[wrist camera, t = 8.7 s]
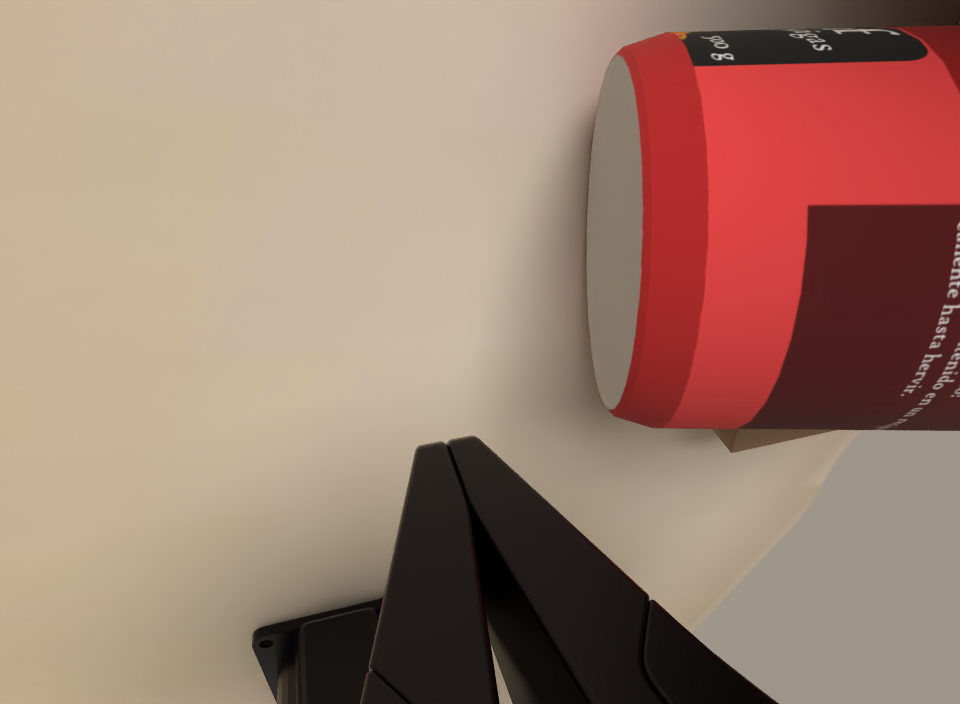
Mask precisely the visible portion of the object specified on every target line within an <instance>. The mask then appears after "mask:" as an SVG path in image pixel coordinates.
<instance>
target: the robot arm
mask: <svg viewBox="0 0 960 704" xmlns="http://www.w3.org/2000/svg"><path fill="white" fill-rule="evenodd" d="M490 642H491V644H490ZM491 645H492V648H493V650H494V653H495V656H496V659H497V661H498V664H499V667H500V670H501V672H502V675H503V678H504V681H505V683H506V686H507V689H508V692H509V694H510V697H511V700H512V703H513V704H779V703H777V702H776V701H775V700H773V699H772V698H771V697H769V696H768V695H767V694H765V693H764V692H763V691H762V690H760V689H759V688H758V687H756V686H755V685H754V684H752V683H751V682H750V681H749V680H747V679H746V678H745V677H743V676H742V675H741V674H740V673H738V672H737V671H736V670H735V669H733V668H732V667H731V666H729V665H728V664H727V663H726V662H724V661H723V660H722V659H721V658H719V657H718V656H717V655H716V654H714V653H713V652H712V651H711V650H710V649H708V648H707V647H706V646H705V645H704V644H703V643H701V642H700V641H699V640H698V639H697V638H696V637H695V636H694V635H692V634H691V633H690V632H689V631H688V630H687V629H686V628H684V627H683V626H682V625H681V624H680V623H679V622H678V621H676V620H675V619H674V618H673V617H672V616H671V615H670V614H669V613H668V612H667V611H666V610H665V609H664V608H662V607H661V606H660V605H659V604H658V603H657V602H656V601H655V600H650V601H649V595H648V594H647V593H646V592H645V591H644V590H643V589H642V588H640V587H639V586H638V585H637V584H636V583H635V582H634V581H633V580H632V579H631V578H630V577H629V576H627V575H626V574H625V573H624V572H623V571H622V570H621V569H620V568H619V567H618V566H617V565H616V564H614V563H613V562H612V561H611V560H610V559H609V558H608V557H607V556H606V555H605V554H604V553H603V552H601V551H600V550H599V549H598V548H597V547H596V546H595V545H594V544H593V543H592V542H591V541H589V540H588V539H587V538H586V537H585V536H584V535H583V534H582V533H581V532H580V531H579V530H578V529H576V528H575V527H574V526H573V525H572V524H571V523H570V522H569V521H568V520H567V519H566V518H565V517H563V516H562V515H561V514H560V513H559V512H558V511H557V510H556V509H555V508H554V507H553V506H551V505H550V504H549V503H548V502H547V501H546V500H545V499H544V498H543V497H542V496H541V495H540V494H538V493H537V492H536V491H535V490H534V489H533V488H532V487H531V486H530V485H529V484H528V483H527V482H525V481H524V480H523V479H522V478H521V477H520V476H519V475H518V474H517V473H516V472H515V471H514V470H512V469H511V468H510V467H509V466H508V465H507V464H506V463H505V462H504V461H503V460H502V459H500V458H499V457H498V456H497V455H496V454H495V453H494V452H493V451H492V450H491V449H490V448H489V447H487V446H486V445H485V444H484V443H483V442H482V441H481V440H480V439H479V438H478V437H475V436H467V437H462V438H457V439H452V440H449V441H448V442H447V445H446V444H445V442H435V443H430V444H425V445H420V446H418V447H417V449H416V451H415V455H414V460H413V464H412V469H411V473H410V478H409V483H408V487H407V492H406V496H405V501H404V506H403V510H402V515H401V519H400V524H399V529H398V533H397V538H396V543H395V547H394V552H393V556H392V561H391V566H390V570H389V575H388V579H387V584H386V589H385V593H384V598H383V599H379V600H375V601H371V602H366V603H362V604H358V605H354V606H350V607H345V608H341V609H337V610H333V611H329V612H324V613H320V614H316V615H312V616H308V617H303V618H299V619H295V620H291V621H287V622H282V623H278V624H274V625H270V626H266V627H262V628H259V629H257V630H256V631H254V633H253V635H252V648H253V650H254V652H255V655H256V657H257V659H258V661H259V664H260V666H261V668H262V671H263V673H264V675H265V677H266V680H267V682H268V684H269V686H270V689H271V691H272V693H273V695H274V698H275V700H276V702H277V704H499V697H498V690H497V684H496V677H495V670H494V664H493V657H492V650H491Z"/></svg>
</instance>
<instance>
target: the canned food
mask: <svg viewBox="0 0 960 704" xmlns="http://www.w3.org/2000/svg"><path fill="white" fill-rule="evenodd" d="M586 266H587V302H588V320H589V333H590V343H591V352H592V360H593V366H594V372H595V378H596V382H597V386H598V390H599V394H600V396H601V399H602V401H603V404H604V405H605V406H606V407H607V409H608V410H609V411H610V412H611V413H612V414H613V416H615V417H618V418H621V419H625V420H628V421H631V422H635V423H638V424H641V425H645V426H648V427H651V428H689V429H812V430H935V431H960V25H945V26H905V27H866V28H826V29H786V30H747V31H707V32H667V33H664V34H661V35H658V36H655V37H652V38H649V39H646V40H643V41H640V42H637V43H634V44H631V45H628V46H625V47H623V48H622V49H621V50H620V51H619V52H618V53H617V54H616V55H615V56H614V57H613V59H612V60H611V62H610V64H609V66H608V68H607V70H606V73H605V77H604V80H603V84H602V87H601V92H600V97H599V102H598V107H597V113H596V120H595V126H594V133H593V142H592V151H591V162H590V174H589V189H588V207H587V254H586Z"/></svg>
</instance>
